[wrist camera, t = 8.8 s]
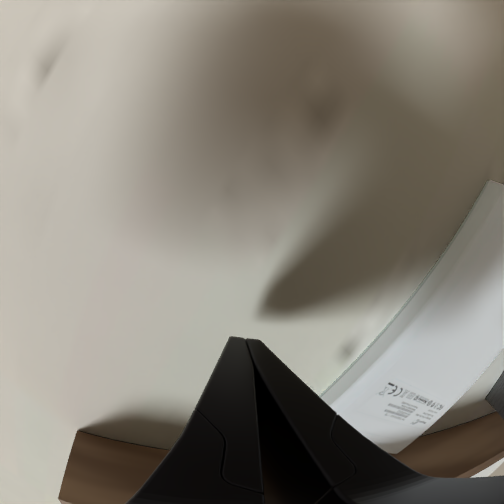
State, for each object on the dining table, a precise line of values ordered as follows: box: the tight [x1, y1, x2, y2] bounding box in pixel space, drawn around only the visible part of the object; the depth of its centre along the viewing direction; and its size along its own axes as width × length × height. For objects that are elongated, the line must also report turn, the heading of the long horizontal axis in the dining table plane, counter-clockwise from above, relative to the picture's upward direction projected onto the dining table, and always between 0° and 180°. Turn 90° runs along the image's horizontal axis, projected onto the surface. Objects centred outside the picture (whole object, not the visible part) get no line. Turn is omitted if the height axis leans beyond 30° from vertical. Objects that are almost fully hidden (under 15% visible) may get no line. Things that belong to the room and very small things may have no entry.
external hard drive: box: [319, 180, 504, 454], centre depth 11 cm, size 2×8×12 cm
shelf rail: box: [58, 412, 504, 504], centre depth 12 cm, size 2×31×4 cm, turn 77°
